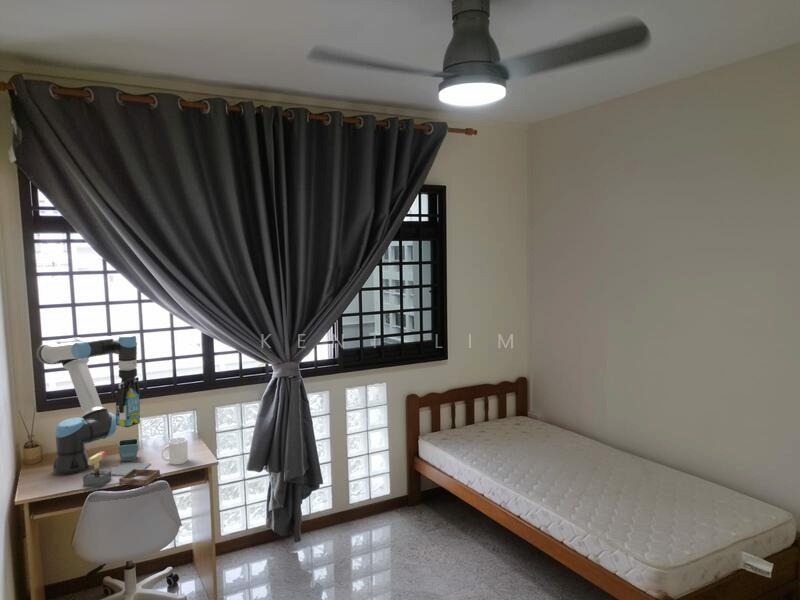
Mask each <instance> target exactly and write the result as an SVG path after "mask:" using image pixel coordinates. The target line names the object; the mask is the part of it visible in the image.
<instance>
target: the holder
mask: <svg viewBox="0 0 800 600" xmlns="http://www.w3.org/2000/svg"><path fill="white" fill-rule="evenodd" d="M134 473H137V474H138V475H137V476H148V477H147V478H146V479H145V478H143V479H142V478H131V477H133V476H132V475H133V474H134ZM160 475H161V471H160V469H149V468H148V469H147V468H146V469H132V470H131V471H130V472H128V473H127V474H125V475H124V476H120V478H119V479H118V480H119V481H118V482H119V485H122V486H123V485H124V486H145V487H147V486H149V484H151V483H152V482H153V481H155V480H156V479H157V478H158V477H159V476H160Z"/></svg>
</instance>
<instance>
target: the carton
mask: <svg viewBox="0 0 800 600" xmlns="http://www.w3.org/2000/svg"><path fill="white" fill-rule="evenodd" d="M116 398H117V396H116V397H115V399H116ZM140 401H141V400H140V399H139V395H138V393H137V392H136V391H135V390H133V388H130V389H129V391H128V393H127V397H126V402H125V405H126V420H122V419H120V412H119V406H116V405H115V417H116V425H117V427H118V426H120V427H125V428H129V427H130V428H131V427H133V426H135V425H139V424H141V423H140V422H141V417H140V416H141V415H140V413H141V412H140V409H141V408H140V407H141V406H140Z"/></svg>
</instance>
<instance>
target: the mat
mask: <svg viewBox="0 0 800 600" xmlns="http://www.w3.org/2000/svg"><path fill="white" fill-rule="evenodd" d="M150 466H152V464H151V462H150V463H146V462H129V461H125V462H123V461H122V462H121V463H120V464H119V465H117V466H116V467H114V468H113V469H112V470H110V471H111V476H115V477H123V476H124V475H125V474H127V473H128V472H130V471H131V470H132V469H147V468H149V467H150ZM137 476H139V475H138V474H137V473H134V474H133V475H132V477H137Z"/></svg>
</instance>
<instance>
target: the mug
mask: <svg viewBox="0 0 800 600" xmlns="http://www.w3.org/2000/svg"><path fill="white" fill-rule="evenodd" d="M166 450H168V457H164V456H163V455H164V452H165V451H166ZM188 454H189V453H188V439H187V438H186V437H175V438H171V439H169V440H168V444H166V446H165V447H163V449H162V450H161V458H162V460H163V461H165V462H169V464H170V465H174V466H177V465H182V464H185V463H187V462H188V461H189V460H188V458H189V456H188Z"/></svg>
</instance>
